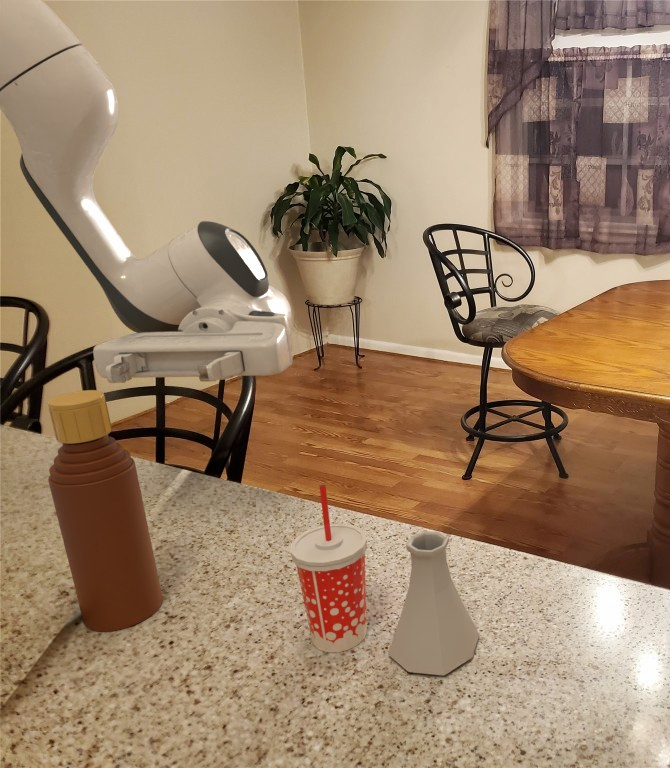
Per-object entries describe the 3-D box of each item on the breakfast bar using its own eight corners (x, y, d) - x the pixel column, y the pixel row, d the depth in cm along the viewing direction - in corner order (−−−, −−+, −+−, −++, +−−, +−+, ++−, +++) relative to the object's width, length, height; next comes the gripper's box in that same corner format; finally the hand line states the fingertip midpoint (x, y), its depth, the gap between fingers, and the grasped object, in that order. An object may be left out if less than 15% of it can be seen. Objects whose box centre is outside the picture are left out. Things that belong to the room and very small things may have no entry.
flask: (372, 660, 55) (361, 552, 52) (423, 611, 61) (416, 511, 58) (447, 689, 52) (440, 575, 49) (494, 634, 58) (490, 529, 55)
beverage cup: (388, 618, 61) (375, 473, 56) (354, 664, 55) (337, 508, 51) (326, 607, 62) (309, 466, 58) (288, 652, 57) (265, 499, 52)
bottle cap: (46, 445, 55) (37, 407, 54) (70, 427, 59) (61, 391, 58) (99, 441, 56) (91, 403, 55) (119, 424, 60) (111, 388, 59)
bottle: (70, 635, 59) (14, 419, 53) (101, 592, 65) (54, 393, 59) (148, 627, 60) (102, 413, 54) (172, 585, 66) (133, 389, 60)
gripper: (129, 316, 81) (51, 346, 68) (299, 313, 80) (253, 342, 67) (139, 367, 83) (65, 406, 70) (306, 364, 82) (262, 403, 69)
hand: (159, 374), depth 69 cm, fingers open, 8 cm apart
